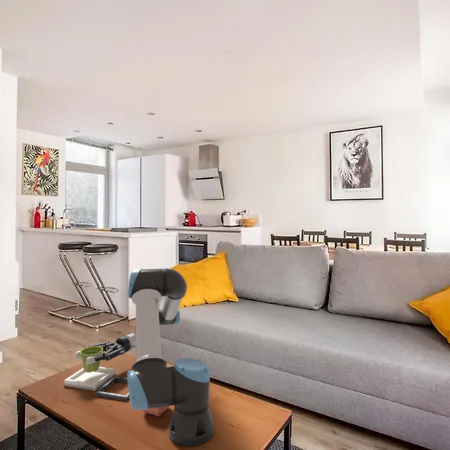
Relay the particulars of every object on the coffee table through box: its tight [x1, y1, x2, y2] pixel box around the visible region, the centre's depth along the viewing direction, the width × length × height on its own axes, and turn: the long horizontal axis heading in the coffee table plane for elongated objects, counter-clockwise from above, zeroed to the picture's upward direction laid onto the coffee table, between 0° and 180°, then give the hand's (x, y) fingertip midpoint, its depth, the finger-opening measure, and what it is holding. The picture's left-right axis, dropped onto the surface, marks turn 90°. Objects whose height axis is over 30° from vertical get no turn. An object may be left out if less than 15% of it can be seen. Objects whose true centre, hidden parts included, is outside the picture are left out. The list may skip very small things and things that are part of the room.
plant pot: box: [79, 346, 104, 373], centre depth 145 cm, size 9×9×9 cm
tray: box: [64, 366, 117, 392], centre depth 145 cm, size 15×15×2 cm
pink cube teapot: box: [142, 406, 170, 417], centre depth 122 cm, size 8×12×8 cm, turn 66°
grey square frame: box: [94, 375, 130, 402], centre depth 137 cm, size 14×14×2 cm
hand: (81, 358), depth 141 cm, fingers closed on plant pot, 9 cm apart
